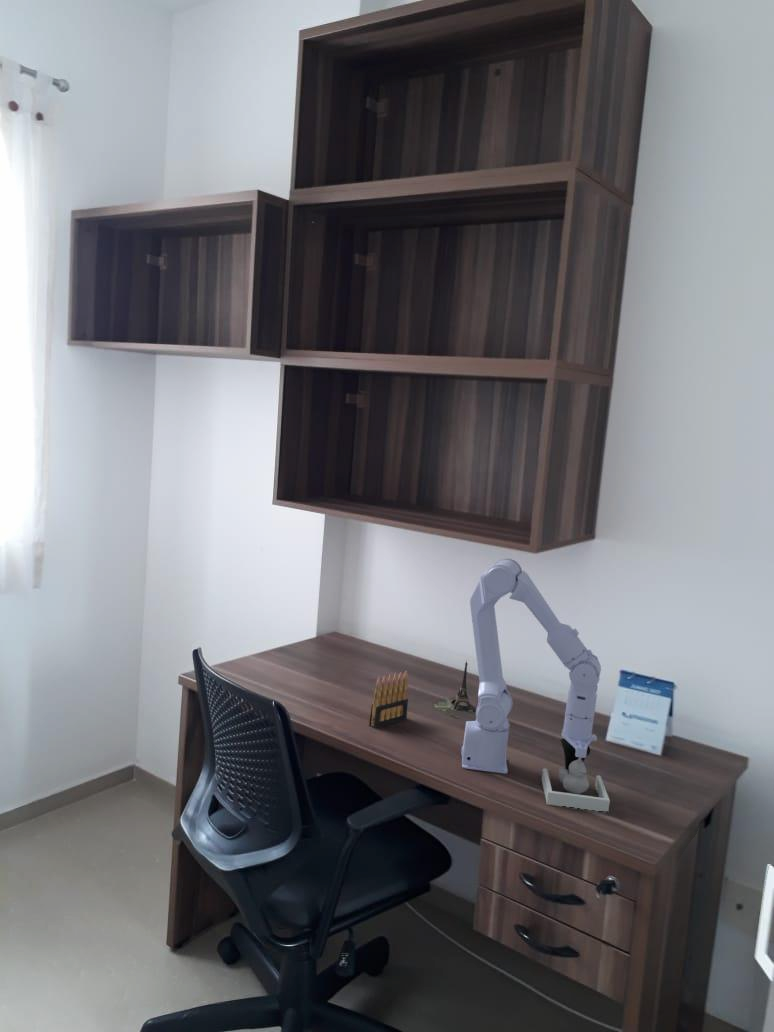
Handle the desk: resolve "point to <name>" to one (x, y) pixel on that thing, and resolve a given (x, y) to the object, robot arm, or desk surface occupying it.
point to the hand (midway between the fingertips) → (571, 776)
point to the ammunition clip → (389, 701)
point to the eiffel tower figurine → (457, 699)
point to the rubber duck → (574, 777)
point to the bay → (576, 796)
